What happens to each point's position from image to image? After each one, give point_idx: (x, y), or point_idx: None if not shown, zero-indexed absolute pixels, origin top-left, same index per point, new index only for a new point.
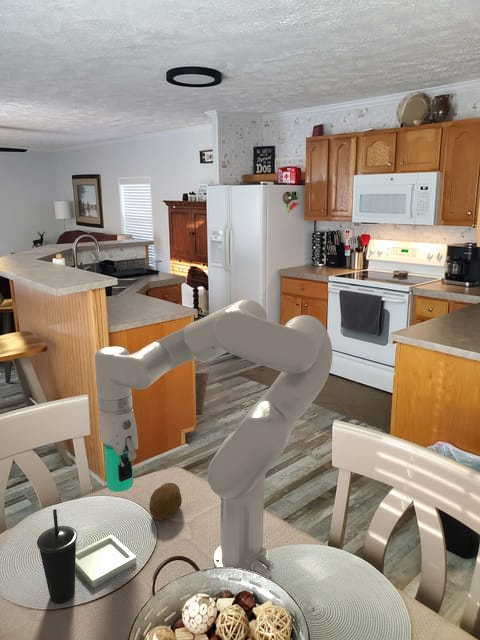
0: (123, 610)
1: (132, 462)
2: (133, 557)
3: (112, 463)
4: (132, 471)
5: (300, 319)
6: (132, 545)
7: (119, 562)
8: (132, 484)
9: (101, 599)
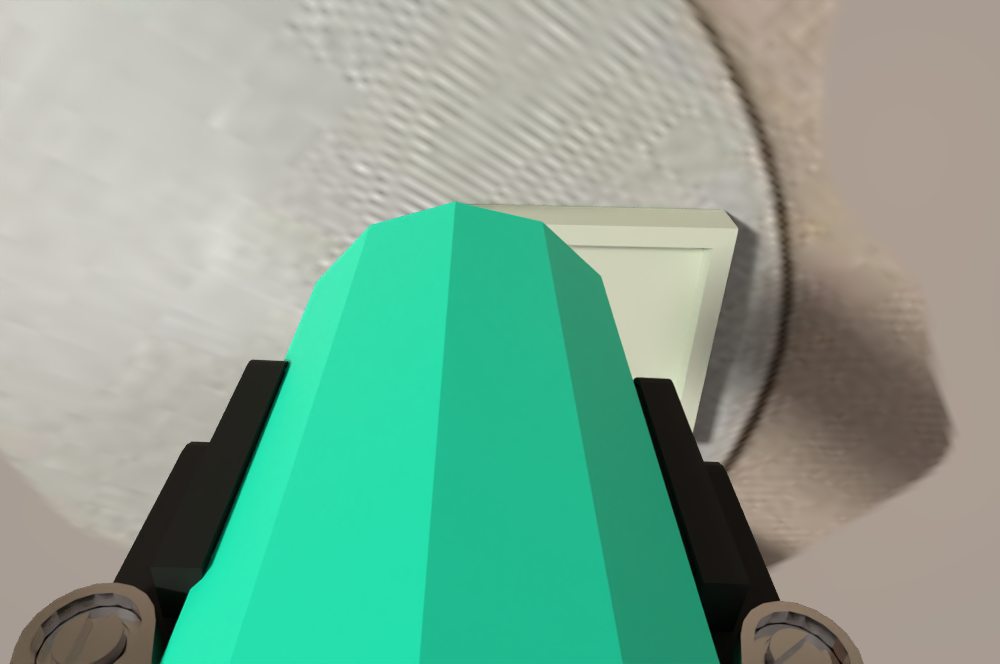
0: (889, 400)
1: (836, 625)
2: (730, 241)
3: None
4: (565, 315)
5: None
6: (580, 136)
7: (665, 288)
8: (581, 260)
9: (761, 429)
